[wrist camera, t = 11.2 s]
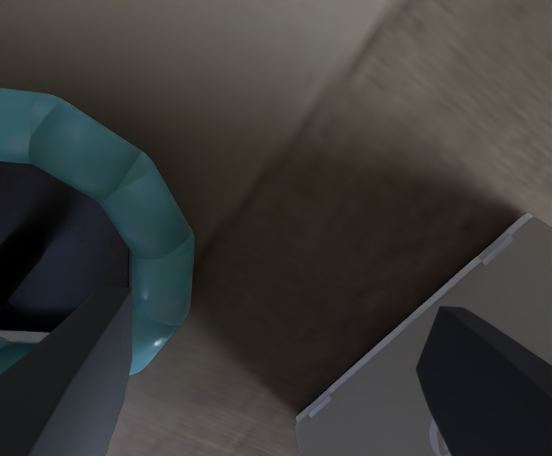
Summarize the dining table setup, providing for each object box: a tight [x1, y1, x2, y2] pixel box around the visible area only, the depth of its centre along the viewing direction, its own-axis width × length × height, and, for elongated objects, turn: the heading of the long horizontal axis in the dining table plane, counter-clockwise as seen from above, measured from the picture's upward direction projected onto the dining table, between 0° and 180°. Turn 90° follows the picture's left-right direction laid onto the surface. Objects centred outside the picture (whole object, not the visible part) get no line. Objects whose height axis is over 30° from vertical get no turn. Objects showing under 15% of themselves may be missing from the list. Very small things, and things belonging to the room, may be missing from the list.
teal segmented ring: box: [0, 88, 194, 376], centre depth 17 cm, size 14×14×2 cm
